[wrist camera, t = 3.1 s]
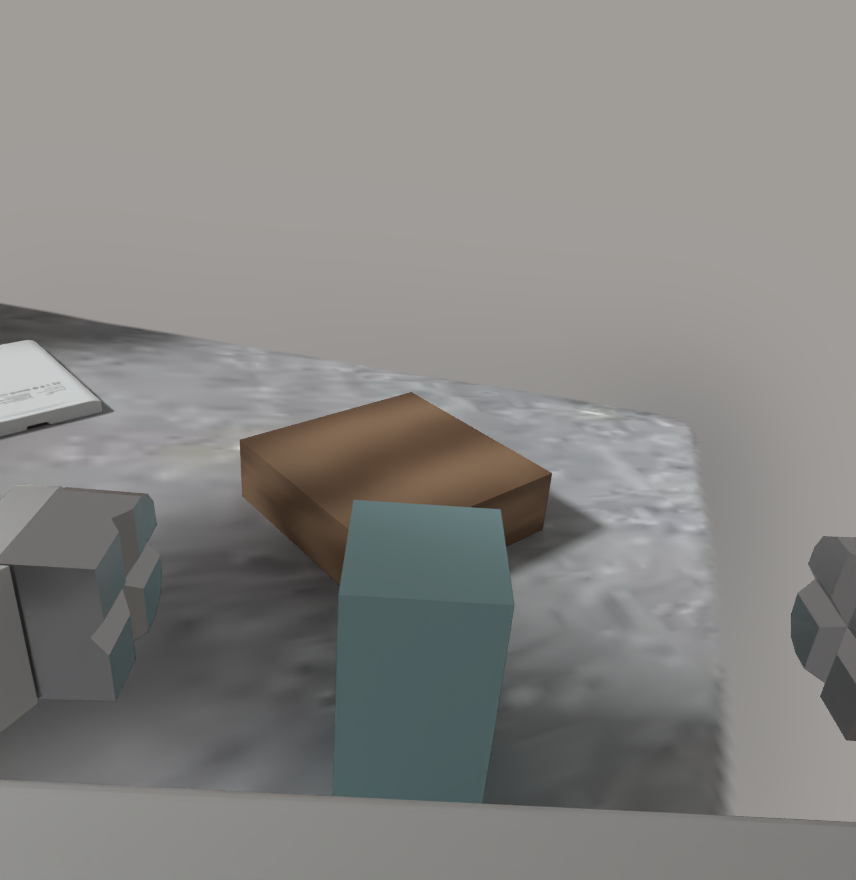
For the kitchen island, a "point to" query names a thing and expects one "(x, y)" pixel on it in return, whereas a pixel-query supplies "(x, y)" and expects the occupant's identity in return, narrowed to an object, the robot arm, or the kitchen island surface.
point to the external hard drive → (38, 389)
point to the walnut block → (384, 473)
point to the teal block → (420, 651)
